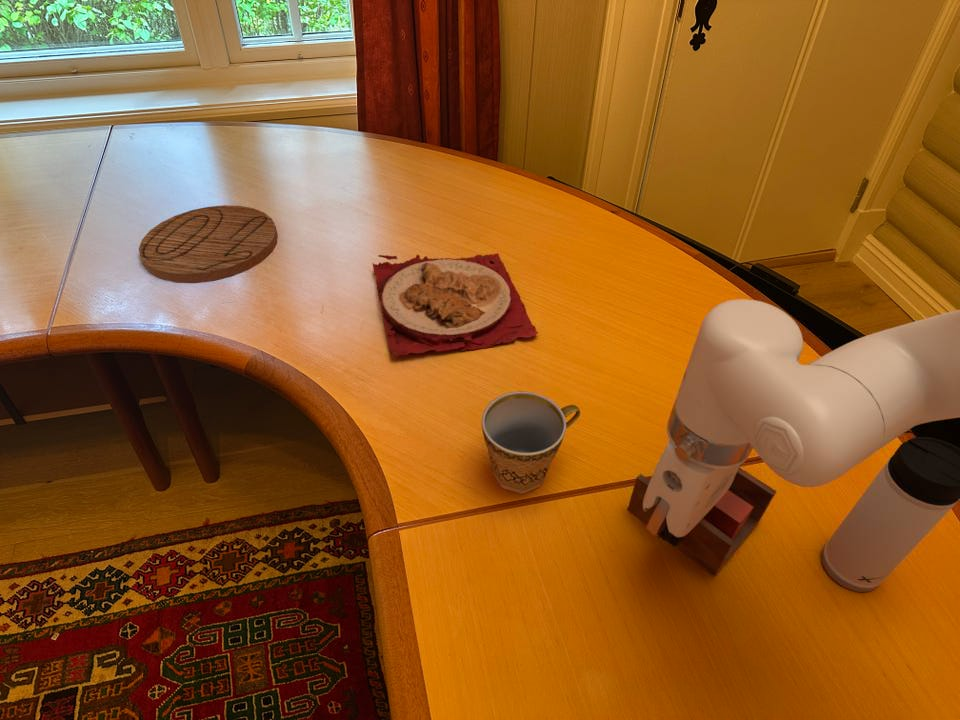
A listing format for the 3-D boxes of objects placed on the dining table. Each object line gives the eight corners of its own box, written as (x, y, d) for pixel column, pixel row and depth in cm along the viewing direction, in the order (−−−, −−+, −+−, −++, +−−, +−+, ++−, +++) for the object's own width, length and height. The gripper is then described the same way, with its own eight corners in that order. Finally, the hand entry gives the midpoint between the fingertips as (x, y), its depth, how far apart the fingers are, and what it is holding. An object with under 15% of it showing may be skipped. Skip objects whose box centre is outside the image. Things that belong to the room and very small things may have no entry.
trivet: (298, 219, 125) (296, 211, 124) (240, 290, 107) (238, 281, 106) (187, 208, 128) (184, 200, 127) (113, 274, 110) (109, 265, 109)
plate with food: (391, 364, 93) (389, 348, 91) (373, 269, 111) (371, 253, 109) (538, 342, 98) (540, 326, 95) (498, 254, 116) (499, 238, 113)
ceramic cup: (502, 517, 73) (505, 466, 66) (468, 457, 80) (467, 405, 73) (593, 479, 77) (604, 428, 70) (553, 426, 84) (560, 374, 77)
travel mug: (868, 607, 65) (972, 500, 52) (809, 564, 69) (891, 453, 55) (893, 571, 68) (996, 461, 55) (835, 532, 72) (919, 419, 58)
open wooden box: (758, 523, 73) (776, 491, 68) (714, 576, 68) (731, 545, 63) (673, 464, 79) (684, 431, 75) (626, 509, 74) (636, 477, 70)
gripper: (703, 500, 49) (655, 603, 61) (792, 407, 56) (733, 516, 69) (628, 445, 53) (597, 552, 65) (720, 365, 60) (676, 475, 73)
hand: (667, 533), depth 67 cm, fingers closed
